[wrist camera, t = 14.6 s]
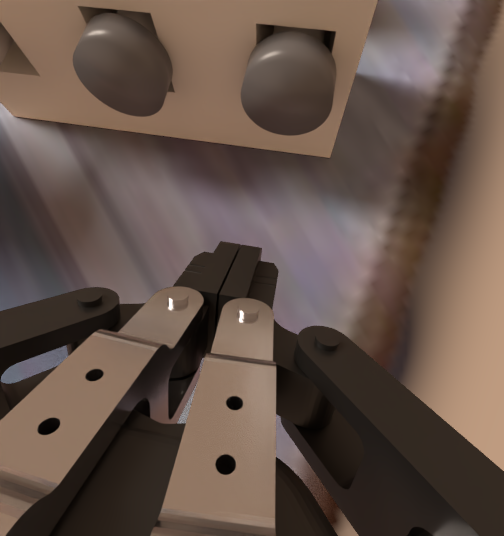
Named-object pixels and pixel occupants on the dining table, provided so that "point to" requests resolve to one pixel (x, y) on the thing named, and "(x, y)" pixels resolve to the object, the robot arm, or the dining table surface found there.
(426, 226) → the dining table surface
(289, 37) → the knob
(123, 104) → the knob
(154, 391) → the robot arm
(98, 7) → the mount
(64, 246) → the dining table surface
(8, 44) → the red knob
